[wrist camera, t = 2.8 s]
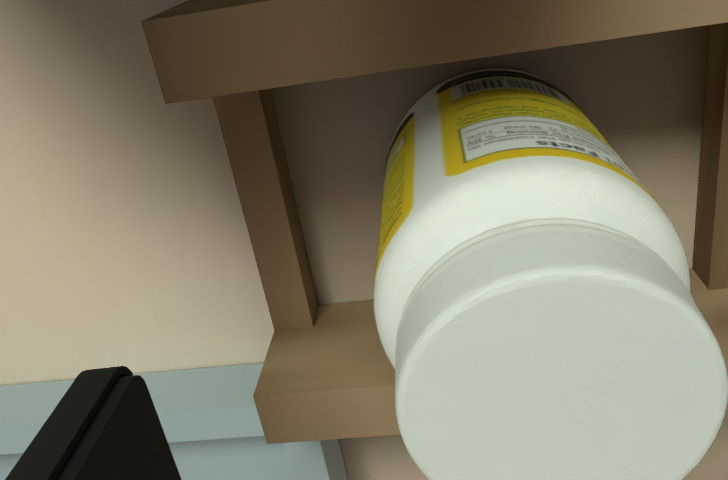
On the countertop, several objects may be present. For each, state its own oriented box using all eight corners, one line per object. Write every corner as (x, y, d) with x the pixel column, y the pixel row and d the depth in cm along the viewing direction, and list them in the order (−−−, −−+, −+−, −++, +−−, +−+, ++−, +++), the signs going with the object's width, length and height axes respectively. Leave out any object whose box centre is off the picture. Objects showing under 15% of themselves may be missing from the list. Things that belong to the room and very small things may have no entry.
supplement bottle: (464, 288, 17) (501, 592, 10) (345, 151, 16) (278, 385, 8) (633, 181, 15) (836, 447, 8) (518, 16, 14) (634, 153, 6)
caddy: (773, -101, 13) (890, -101, 10) (730, 312, 17) (802, 406, 14) (202, -6, 14) (141, 21, 11) (292, 351, 18) (266, 444, 15)
